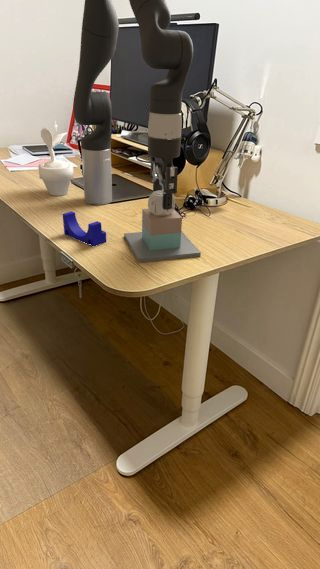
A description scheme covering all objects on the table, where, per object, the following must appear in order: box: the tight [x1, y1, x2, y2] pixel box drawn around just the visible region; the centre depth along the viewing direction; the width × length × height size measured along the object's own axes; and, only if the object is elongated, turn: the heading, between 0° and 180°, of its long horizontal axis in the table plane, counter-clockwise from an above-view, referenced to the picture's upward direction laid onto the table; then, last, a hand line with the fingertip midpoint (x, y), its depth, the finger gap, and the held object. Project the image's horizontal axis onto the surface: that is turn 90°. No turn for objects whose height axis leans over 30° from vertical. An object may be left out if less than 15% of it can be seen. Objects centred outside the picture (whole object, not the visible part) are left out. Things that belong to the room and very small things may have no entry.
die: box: [147, 190, 176, 216], centre depth 98 cm, size 5×5×5 cm
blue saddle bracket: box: [62, 210, 107, 247], centre depth 105 cm, size 12×4×6 cm, turn 49°
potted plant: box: [37, 119, 74, 197], centre depth 134 cm, size 13×12×25 cm
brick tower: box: [123, 208, 202, 263], centre depth 102 cm, size 16×16×9 cm
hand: (162, 203), depth 98 cm, fingers open, 8 cm apart
